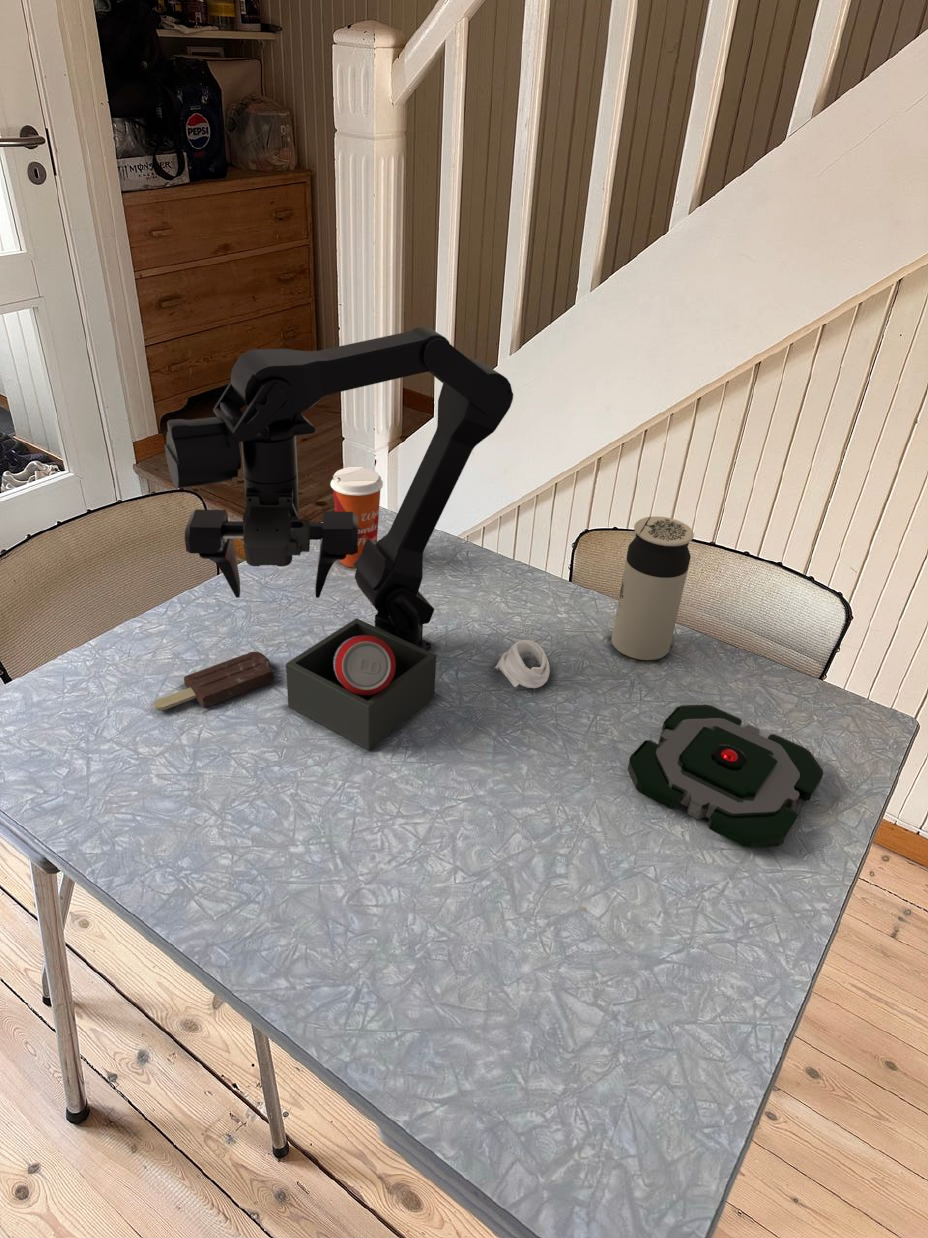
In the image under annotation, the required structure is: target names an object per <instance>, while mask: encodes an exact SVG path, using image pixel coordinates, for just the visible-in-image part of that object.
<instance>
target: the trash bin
mask: <svg viewBox="0 0 928 1238" xmlns="http://www.w3.org/2000/svg"><path fill="white" fill-rule="evenodd" d="M361 635H368V636H374V637H377V638H379V639H381V640H382V641H384V642H385V643H386V644H387V645H388V646H389V647H390V648H391V650H392V652H393V654H394V657H395V663H396V668H395V673H394V676H393V678H392V680H391V682H390V683H389V685H388V686H387V687H386V688H384V689H383V690H382V691H380V692H378V693H376V694H372V695H358V694H355V693H353V692H351V691H349V690H348V689H346V688H345V687H344V686H343V685H342V684H341V683H340V682H339V680H338V679H337V677H336V675H335V673H334V669H333V658H334V655H335V652H336V650H337V649H338V647H339V646H340V645H341V644H342V643H343V642H344V641H346V640H347V639H349V638H352V637H355V636H361ZM437 657H438V656H437V654H435V653H433V652H431V651H429V650H424V649H422V648H420V647H418V646H416V645H414V644H411V643H409V642H407V641H405V640H403V639H401V638H399V637H396V636H394V635H392V634H390V633H388V632H386V631H383V630H381V629H379V628H377V627H375V625H373V624H371V623H369V622H366V621H364V620H362V619H359V618H357V617H356V618H354V619H353V620H351V621H349V622H348V623H346V624H344V625H343V626H342V627H340V628H339V629H337V630H336V631H334V632H332V633H331V634H330V635H328V636H326V637H324V638H323V639H321V640H319V641H318V642H317V643H316V644H314V645H312V646H311V647H309V648H308V649H306V650H305V651H303V652H301V653H299V654H298V655H296V656H295V657H293V658H292V659H290V660H289V661H288V662H286V663H285V676H286V689H287V690H286V691H287V707H288V708H290V709H291V710H294V712H297V713H298V714H300V715H301V716H304V717H306V718H308V719H309V720H311V721H313V722H315V723H317V724H318V725H320V726H322V727H324V728H326V729H328V730H330V732H331V731H332V732H333V733H335V734H336V735H339V736H341V737H342V738H343V739H346V740H348V741H350V742H351V743H353V744H356V745H357V746H358V747H360V748H362V749H363V750H366V751H367V752H370V751H371V750H372V749H373V748H375V747H376V746H377V745H378V744H379V743H381V742H382V741H383V740H384V739H386V738H387V737H388V736H390V735H391V734H392V733H393V732H395V730H397V729H398V728H399V727H400V726H401V725H403V724H404V723H405V722H407V721H408V720H409V719H410V718H411V717H413V716H414V715H415V714H416V713H418V712H419V711H420V710H421V709H422V708H424V707H425V706H426V705H427V704H428V703H430V702H431V701H432V700H433V699H434V698H435V697H436V696H435V692H436V675H437V671H436V670H437Z"/></svg>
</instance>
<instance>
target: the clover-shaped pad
mask: <svg viewBox="0 0 928 1238" xmlns="http://www.w3.org/2000/svg"><path fill="white" fill-rule="evenodd" d="M742 723H743V721H742V719H741V718H740V717H738V716H736V715H734V714H731V713H730V712H727V711H725V710H722V709H720V708H718V707H716V706H714V705H712V704H711V705H710V704H682V705H679V706H676V707H675V709H674V710H673V711H672V712H671V713H670V714H669V716H667V717H666V719H664V721H663V724H662V728H661V732H660V733H659V737H658V742H655V741H653V740H650V739H645V740H644V741H643V742H642V743H641V744H640V745H639V746H638V747H637V748H636V750H634V752H633V753H632V754H631V755H630V756H629V760H628V764H627V772H628V774H629V776H630V778H631V781H632V783H633V786H634V788H635V790H636V791H638V793H640V794H641V795H642V796H645V797H647V798H649V799H651V800H653V801H655V802H656V803H658V804H660V805H662V806H664V807H665V808H667V809H670V810H676V809H677V808H678V807H679V805H682V806H684V807H686V813H687V815H689V816H691V817H693V818H694V819H696V820H700V819H701V820H702V819H703V818H707V819H708V821H707V827H708V829H709V830H711V831H713V832H714V833H716V834H717V835H720V836H722V837H724V838H726V839H728V840H730V841H731V842H733V843H735V844H737V845H739V846H741V847H744V848H747V849H756V848H771V847H773V848H774V847H780V846H782V845H784V843H785V841H786V840H787V838H788V837H789V835H790V833H791V832H792V830H793V828H794V826H795V825H796V823H797V820H798V818H799V813H798V812H797V811H796V810H795V809H796V806H797V803H798V801H799V799H800V800H802V801H804V802H810V800H811V799H812V797H813V796H814V794H815V792H816V791H817V789H818V787H819V786H820V785H821V782H822V780H823V777H824V769H823V768H822V767H821V765H820V763H818V761H817V759H816V758H815V756H814V755H813V753H812V752H811V750H809V749H808V748H806V747H805V746H802V745H799V744H798V743H795V742H794V741H791V740H789V739H787V738H785V737H782V736H780V735H778V734H775V733H769V735H768V737H765V736H763V735H761V734H760V733H761V732H760V731H761V730H760V728H758V727H756V726H753V725H752V724H746V725H745V726H742Z"/></svg>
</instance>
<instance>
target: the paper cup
mask: <svg viewBox="0 0 928 1238" xmlns="http://www.w3.org/2000/svg"><path fill="white" fill-rule="evenodd" d="M330 487H331V488H332V493H333V505H334V506H333V507H334V511H336V512H354V513H355V515H356V516H357V517H358V553H356V554H353V555H346V558H345V559H343V560H339V562H340V563H341V564H342V565H344V566H345V567H348V568H355V566H354V563H355V562H356V561H357V560H358V559H359V557H360V555H361V553H362V550H363V546H364V543H365V542H366V540H367V539H370V540H372V541H374V542H377V541H378V532H379V516H380V503H381V502H380V501H381V490H382V488H383V487H384V481H383V480H382V476H380V474H379V473H378V472H377V471H376V470H373V469H371V468H369V467H368V468H367V467H362V466H350V467H349V466H348V467H344V468H340V469H338V470H336V472H335V473H334V474H333V475H332V479H331V480H330ZM355 569H356V568H355Z"/></svg>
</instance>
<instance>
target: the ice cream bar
mask: <svg viewBox="0 0 928 1238" xmlns="http://www.w3.org/2000/svg"><path fill="white" fill-rule="evenodd" d="M270 664H271V663H270V659H269V658H267V656H266V655H264V653H262V652H260V651H250V652H248V653H245V654H242V655H239V656H236V657H234V658H231V659H228V660H225V661H223V662H219V663H216V664H214V665H212V666H208V667H206V668H203V669H201V670H197V671H195V672H193V673H190V674H187V675H185V676H184V677H183V682H184V683H183V684H184V686H185V687H186V688H185V689H182V690H180V691H177V692H174V693H172V694H169V695H166V696H163V697H161V698H158V699H156V700H155V701H154V702H153V708H154V710H156V711H165V710H168V709H171V708H173V707H176V706H178V705H182V704H183V703H187V702H188V701H192V700H194V699H195V700H196V701H197V703H198V704H199V705H201V706H202V707H203V708H205V709H206V708H209V707H211V706H214V705H216V704H219V703H221V702H225V701H227V700H229V699H231V698H234V697H237V696H239V695H242V694H244V693H245V694H246V693H248V692H250V691H252V690H255V689H257V688H260V687H262V686H265V685H268V684H270V683H272V682H274V680H275V674H274V671H273V670H272V669H270V668H271V665H270Z"/></svg>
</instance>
